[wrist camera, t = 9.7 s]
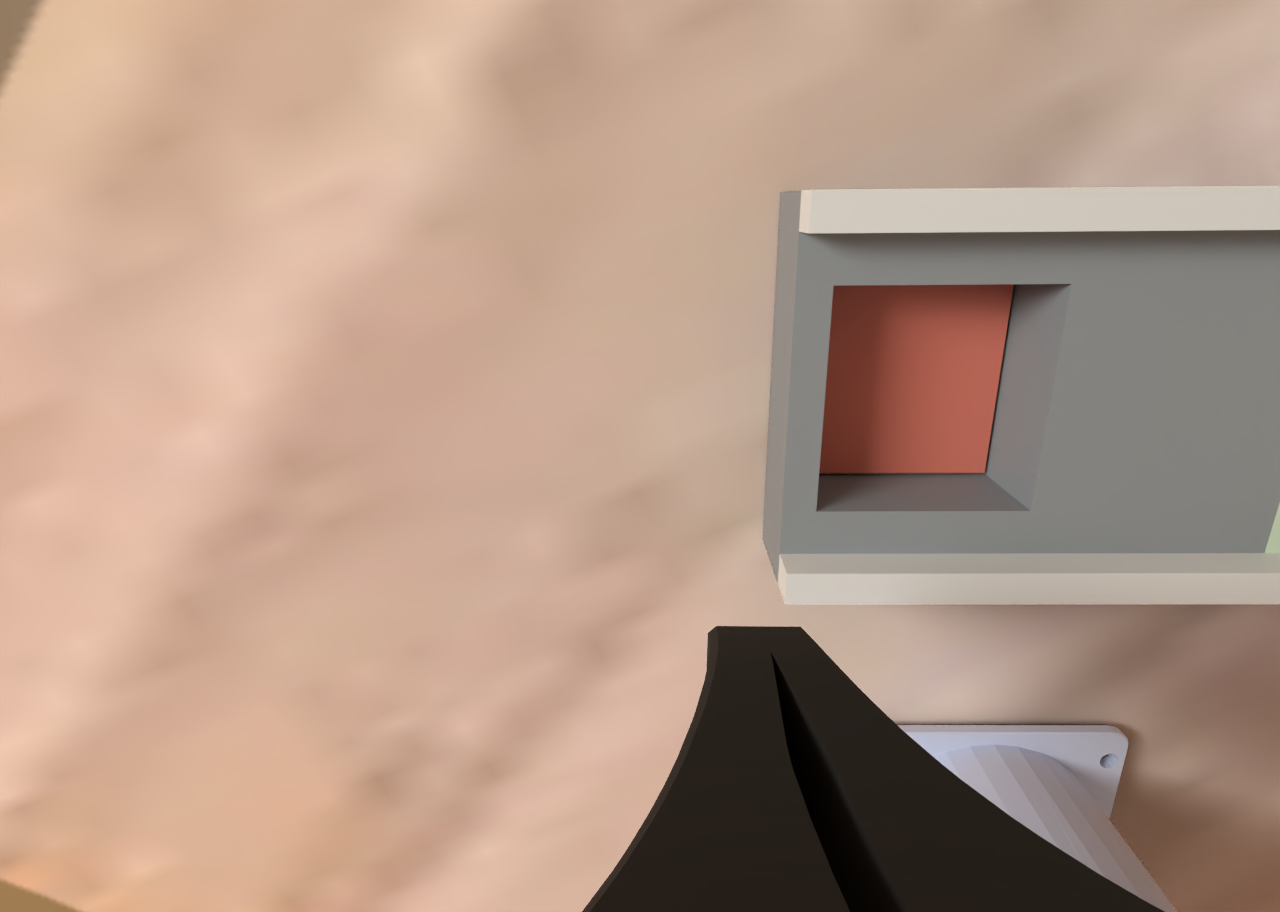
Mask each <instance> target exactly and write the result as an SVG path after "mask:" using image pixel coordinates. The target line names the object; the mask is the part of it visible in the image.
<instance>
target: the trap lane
mask: <svg viewBox="0 0 1280 912" xmlns="http://www.w3.org/2000/svg"><path fill="white" fill-rule="evenodd" d="M1013 286H1014V287H1013ZM1012 293H1013V294H1012ZM1011 299H1012V300H1011ZM1009 312H1010V313H1009ZM1008 318H1009V319H1008ZM1007 325H1008V326H1007ZM1006 331H1007V332H1006ZM1005 338H1006V339H1005ZM1004 344H1005V345H1004ZM1003 351H1004V352H1003ZM1002 357H1003V358H1002ZM1001 364H1002V365H1001ZM1000 370H1001V371H1000ZM998 383H999V384H998ZM997 389H998V390H997ZM996 396H997V397H996ZM995 402H996V403H995ZM994 409H995V410H994ZM993 415H994V416H993ZM992 422H993V423H992ZM991 428H992V429H991ZM989 441H990V442H989ZM988 447H989V448H988ZM987 454H988V455H987ZM986 460H987V461H986ZM985 467H986V468H985ZM819 473H985V474H819ZM763 541H764V544H765V547H766V550H767V553H768V556H769V559H770V562H771V565H772V568H773V571H774V574H775V577H776V580H777V583H778V586H779V589H780V592H781V595H782V597H783V600H784V603H785V605H1158V604H1280V186H1183V187H1066V188H949V189H831V190H801V191H788V192H781V195H780V214H779V234H778V253H777V273H776V292H775V311H774V331H773V350H772V370H771V389H770V409H769V428H768V447H767V467H766V486H765V506H764V525H763Z"/></svg>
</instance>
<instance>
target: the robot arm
mask: <svg viewBox="0 0 1280 912" xmlns="http://www.w3.org/2000/svg"><path fill="white" fill-rule="evenodd" d="M1127 750H1128V739H1127V737H1126V736H1125V735H1124V734H1123V733H1122V731H1121V730H1120V729H1118V728H1117V727H1115V726H1110V725H896V724H895V723H894V722H893V721H892V720H891V719H890V718H889V717H888V716H887V715H886V714H885V713H884V712H883V711H882V710H880V709H879V708H878V707H877V706H876V705H875V704H874V703H873V702H872V701H871V700H870V699H869V698H868V697H867V696H866V695H865V694H864V693H863V692H862V691H861V690H860V689H859V688H858V687H857V686H856V685H855V684H854V683H853V682H852V681H851V680H850V679H849V677H848V676H847V675H846V674H845V673H844V672H843V671H842V670H841V669H840V668H839V667H838V666H837V665H836V664H835V663H834V662H833V661H832V660H831V658H830V657H829V656H828V655H827V654H826V653H825V652H824V651H823V650H822V649H821V648H820V647H819V646H818V645H817V643H816V642H815V641H814V640H813V639H812V638H811V637H810V636H809V635H808V634H807V633H806V632H805V631H804V630H803V629H802V628H801V627H743V626H716V627H715V628H714V629H712V630H711V631H710V632H709V633H708V649H707V672H706V677H705V681H704V685H703V688H702V692H701V695H700V698H699V702H698V705H697V709H696V712H695V715H694V718H693V720H692V723H691V725H690V728H689V730H688V733H687V735H686V738H685V740H684V743H683V745H682V748H681V750H680V753H679V755H678V758H677V760H676V762H675V764H674V766H673V768H672V770H671V773H670V775H669V777H668V779H667V781H666V783H665V785H664V787H663V789H662V791H661V792H660V794H659V796H658V798H657V800H656V802H655V804H654V806H653V807H652V809H651V811H650V813H649V814H648V816H647V818H646V819H645V821H644V823H643V824H642V826H641V828H640V829H639V831H638V833H637V834H636V836H635V837H634V839H633V841H632V842H631V844H630V846H629V847H628V849H627V850H626V852H625V853H624V855H623V856H622V858H621V859H620V861H619V862H618V864H617V865H616V867H615V868H614V870H613V871H612V873H611V874H610V875H609V877H608V878H607V879H606V881H605V882H604V883H603V885H602V886H601V887H600V889H599V890H598V891H597V893H596V894H595V895H594V897H593V898H592V899H591V901H590V902H589V903H588V905H587V906H586V907H585V909H584V910H583V911H582V912H1178V911H1177V910H1176V909H1175V907H1174V906H1173V905H1172V903H1171V902H1170V901H1169V899H1168V898H1167V897H1166V895H1165V894H1164V893H1163V891H1162V890H1161V889H1160V887H1159V886H1158V885H1157V883H1156V882H1155V880H1154V879H1153V878H1152V876H1151V875H1150V874H1149V872H1148V871H1147V870H1146V868H1145V867H1144V866H1143V864H1142V863H1141V862H1140V860H1139V859H1138V858H1137V856H1136V855H1135V854H1134V852H1133V851H1132V850H1131V848H1130V847H1129V846H1128V844H1127V843H1126V842H1125V840H1124V839H1123V838H1122V836H1121V835H1120V834H1119V832H1118V831H1117V829H1116V828H1115V827H1114V825H1113V824H1112V823H1111V821H1110V816H1111V812H1112V808H1113V804H1114V801H1115V797H1116V793H1117V789H1118V785H1119V781H1120V777H1121V773H1122V769H1123V765H1124V762H1125V758H1126V754H1127ZM1107 754H1108V756H1106V757H1105V758H1102V757H1103V756H1105V755H1107Z"/></svg>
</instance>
